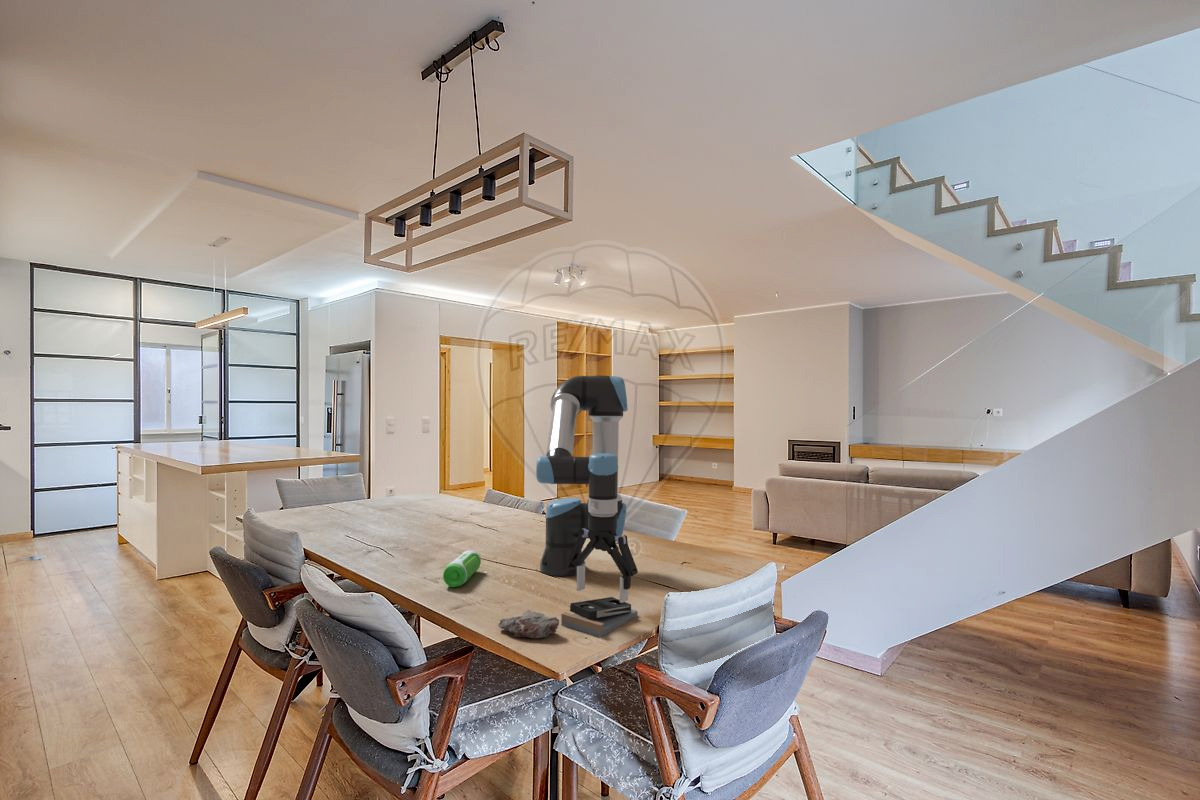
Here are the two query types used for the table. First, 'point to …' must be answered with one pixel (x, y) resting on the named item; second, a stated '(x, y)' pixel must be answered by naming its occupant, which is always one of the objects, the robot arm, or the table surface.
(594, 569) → the table surface
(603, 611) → the vhs tape
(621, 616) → the board
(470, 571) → the speaker
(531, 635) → the mineral rock
